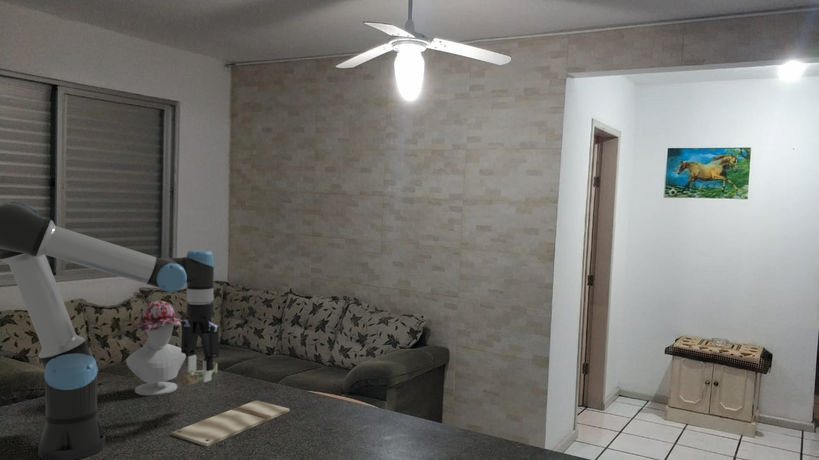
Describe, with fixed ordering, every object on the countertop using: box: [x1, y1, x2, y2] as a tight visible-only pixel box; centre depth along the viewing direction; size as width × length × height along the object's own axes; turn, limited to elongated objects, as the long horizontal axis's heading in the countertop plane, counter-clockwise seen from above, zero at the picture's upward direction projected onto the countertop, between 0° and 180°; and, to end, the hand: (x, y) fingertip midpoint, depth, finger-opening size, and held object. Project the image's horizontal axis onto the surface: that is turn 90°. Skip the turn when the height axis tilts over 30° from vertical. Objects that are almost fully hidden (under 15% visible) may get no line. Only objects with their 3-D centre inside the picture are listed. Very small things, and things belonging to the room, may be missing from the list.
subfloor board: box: [170, 400, 291, 447], centre depth 183 cm, size 32×14×1 cm, turn 149°
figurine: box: [180, 361, 218, 386], centre depth 189 cm, size 5×15×4 cm, turn 156°
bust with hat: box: [125, 300, 187, 396], centre depth 210 cm, size 19×18×30 cm
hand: (199, 379), depth 189 cm, fingers closed on figurine, 6 cm apart
